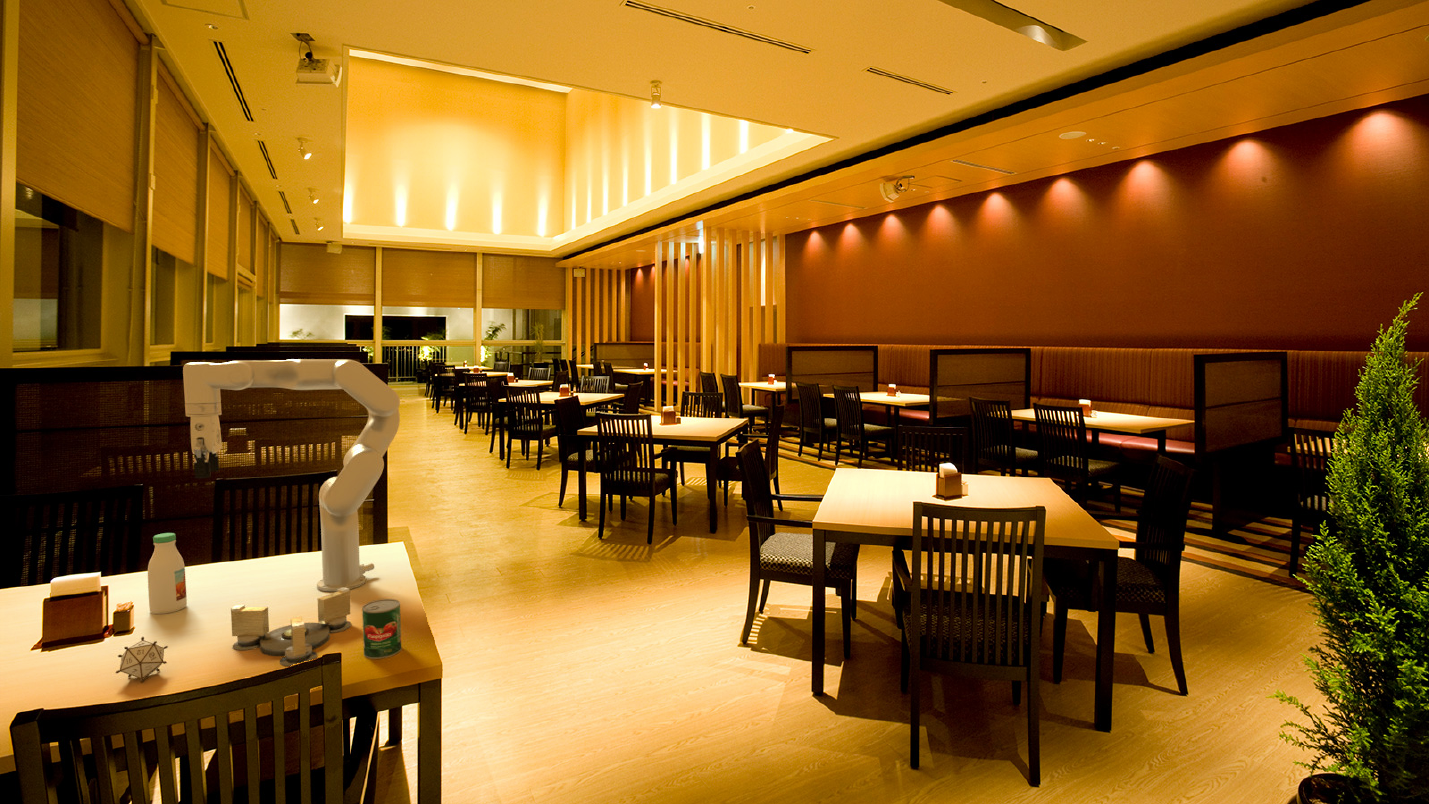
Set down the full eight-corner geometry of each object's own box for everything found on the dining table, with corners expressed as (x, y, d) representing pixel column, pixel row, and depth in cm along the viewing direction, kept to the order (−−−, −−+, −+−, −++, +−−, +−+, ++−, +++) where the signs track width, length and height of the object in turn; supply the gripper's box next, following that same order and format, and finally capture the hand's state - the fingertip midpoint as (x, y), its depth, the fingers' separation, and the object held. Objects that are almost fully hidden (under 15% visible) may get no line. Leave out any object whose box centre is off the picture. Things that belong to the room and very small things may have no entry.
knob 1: (228, 646, 160) (226, 611, 159) (242, 637, 165) (240, 602, 164) (260, 645, 160) (258, 610, 160) (272, 636, 166) (271, 602, 165)
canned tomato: (394, 641, 165) (392, 596, 164) (407, 652, 160) (405, 605, 159) (358, 651, 160) (356, 604, 159) (370, 662, 154) (369, 614, 153)
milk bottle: (166, 616, 178) (162, 539, 177) (141, 613, 180) (137, 537, 178) (194, 605, 186) (190, 531, 184) (170, 602, 187) (166, 529, 186)
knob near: (340, 618, 177) (339, 586, 176) (354, 622, 175) (353, 589, 174) (314, 628, 171) (313, 595, 170) (328, 632, 168) (327, 598, 168)
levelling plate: (316, 613, 181) (315, 600, 181) (381, 631, 171) (381, 617, 170) (225, 646, 161) (224, 632, 161) (293, 669, 151) (292, 653, 150)
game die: (140, 691, 148) (141, 645, 152) (178, 676, 148) (178, 631, 152) (103, 689, 140) (104, 641, 144) (143, 674, 140) (144, 626, 144)
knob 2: (313, 659, 154) (312, 622, 153) (286, 665, 151) (284, 628, 150) (310, 648, 160) (309, 612, 159) (284, 653, 157) (282, 617, 156)
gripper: (213, 412, 175) (217, 479, 176) (227, 406, 190) (231, 468, 192) (176, 413, 172) (180, 481, 173) (194, 407, 187) (198, 470, 189)
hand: (207, 474), depth 182 cm, fingers open, 9 cm apart
